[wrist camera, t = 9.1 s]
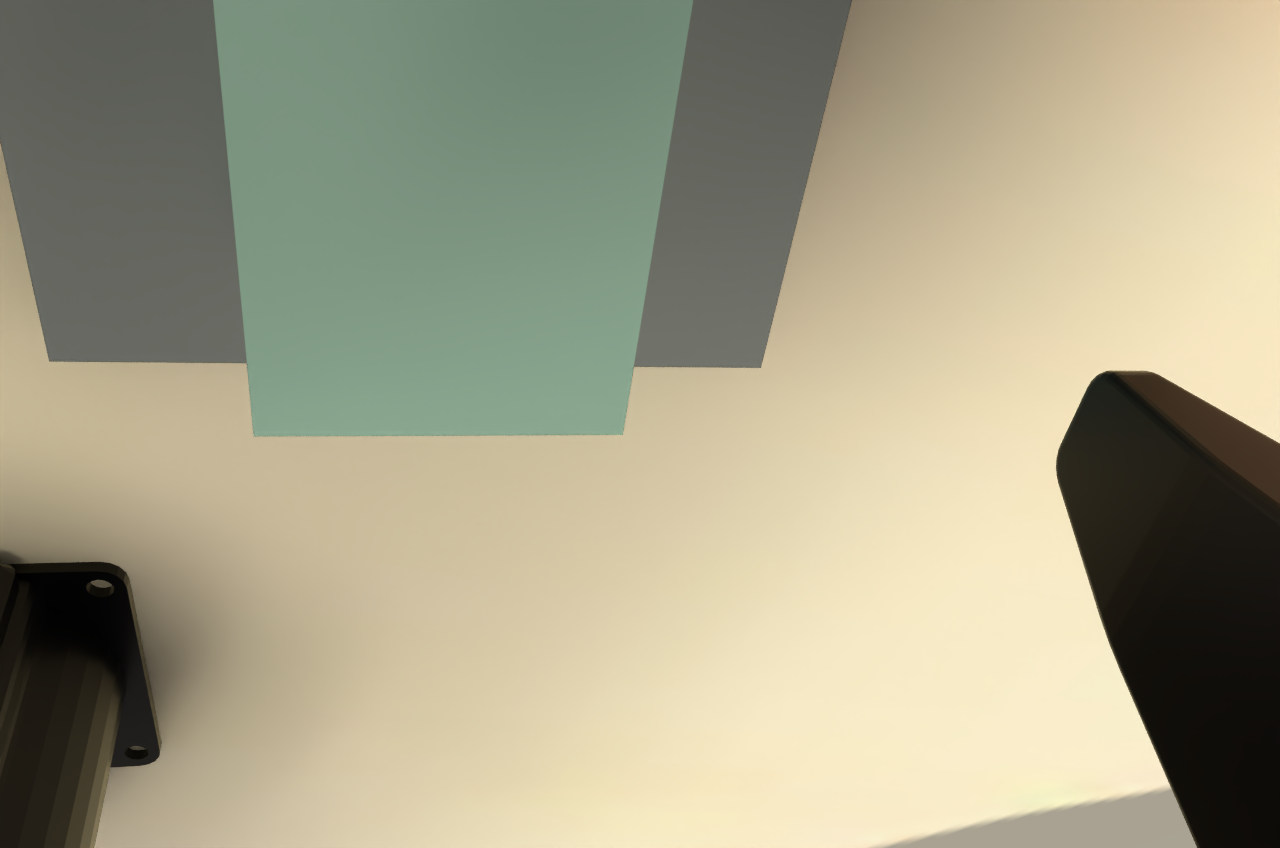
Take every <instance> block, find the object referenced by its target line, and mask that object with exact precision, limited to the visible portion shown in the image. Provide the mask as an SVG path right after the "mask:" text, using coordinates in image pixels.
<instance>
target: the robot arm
mask: <svg viewBox="0 0 1280 848" xmlns="http://www.w3.org/2000/svg"><path fill="white" fill-rule="evenodd" d="M1056 472H1057V479H1058V483H1059V487H1060V490H1061V493H1062V496H1063V499H1064V503H1065V506H1066V509H1067V512H1068V516H1069V519H1070V522H1071V525H1072V528H1073V532H1074V535H1075V538H1076V541H1077V544H1078V548H1079V551H1080V554H1081V557H1082V560H1083V564H1084V567H1085V570H1086V573H1087V576H1088V580H1089V583H1090V586H1091V589H1092V592H1093V596H1094V599H1095V602H1096V605H1097V609H1098V612H1099V615H1100V618H1101V621H1102V624H1103V627H1104V629H1105V632H1106V635H1107V638H1108V641H1109V644H1110V646H1111V649H1112V651H1113V654H1114V656H1115V659H1116V661H1117V664H1118V666H1119V669H1120V671H1121V673H1122V676H1123V678H1124V680H1125V683H1126V685H1127V687H1128V690H1129V692H1130V694H1131V696H1132V699H1133V701H1134V703H1135V706H1136V708H1137V710H1138V713H1139V715H1140V717H1141V719H1142V722H1143V724H1144V726H1145V729H1146V731H1147V733H1148V736H1149V738H1150V740H1151V742H1152V745H1153V747H1154V749H1155V752H1156V754H1157V756H1158V759H1159V761H1160V763H1161V765H1162V768H1163V770H1164V772H1165V775H1166V777H1167V779H1168V782H1169V784H1170V786H1171V788H1172V791H1173V793H1174V795H1175V798H1176V800H1177V802H1178V804H1179V807H1180V809H1181V811H1182V814H1183V816H1184V818H1185V820H1186V823H1187V825H1188V827H1189V830H1190V832H1191V834H1192V837H1193V839H1194V841H1195V844H1196V846H1197V848H1280V443H1278V442H1276V441H1274V440H1273V439H1271V438H1269V437H1267V436H1266V435H1264V434H1262V433H1260V432H1259V431H1257V430H1255V429H1253V428H1251V427H1250V426H1248V425H1246V424H1244V423H1243V422H1241V421H1239V420H1237V419H1236V418H1234V417H1232V416H1230V415H1229V414H1227V413H1225V412H1223V411H1221V410H1220V409H1218V408H1216V407H1214V406H1213V405H1211V404H1209V403H1207V402H1206V401H1204V400H1202V399H1200V398H1199V397H1197V396H1195V395H1193V394H1191V393H1190V392H1188V391H1186V390H1184V389H1183V388H1181V387H1179V386H1177V385H1176V384H1174V383H1172V382H1170V381H1168V380H1167V379H1165V378H1163V377H1161V376H1160V375H1158V374H1155V373H1152V372H1148V371H1106V372H1103V373H1100V374H1099V375H1097V376H1096V377H1095V378H1094V379H1093V380H1092V381H1091V383H1090V384H1089V386H1088V388H1087V390H1086V392H1085V394H1084V396H1083V398H1082V400H1081V403H1080V405H1079V407H1078V409H1077V411H1076V413H1075V415H1074V417H1073V419H1072V422H1071V424H1070V426H1069V428H1068V430H1067V432H1066V434H1065V436H1064V439H1063V441H1062V443H1061V445H1060V448H1059V450H1058V455H1057V461H1056ZM94 580H105V581H107V582H109V583H111V584H112V586H111V587H107V588H100V587H96V586H94V585H92V584H91V583H90V582H91V581H94ZM133 746H141V747H144V748H146V749H144V750H133V749H131V748H129V747H133ZM160 749H161V737H160V732H159V727H158V722H157V717H156V712H155V707H154V702H153V697H152V692H151V687H150V682H149V677H148V672H147V667H146V662H145V657H144V651H143V646H142V641H141V636H140V631H139V626H138V621H137V616H136V611H135V606H134V601H133V596H132V591H131V586H130V581H129V578H128V576H127V574H126V572H125V571H124V570H122V569H121V568H120V567H118V566H116V565H113V564H110V563H104V562H76V563H35V564H0V848H94V846H95V841H96V836H97V831H98V826H99V821H100V816H101V811H102V806H103V801H104V796H105V791H106V786H107V781H108V776H109V771H110V767H125V766H141V765H146V764H150V763H152V762H154V761H156V759H157V758H158V757H159V755H160Z"/></svg>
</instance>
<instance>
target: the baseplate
mask: <svg viewBox="0 0 1280 848" xmlns="http://www.w3.org/2000/svg"><path fill="white" fill-rule="evenodd" d="M851 1H852V0H693V5H692V11H691V17H690V23H689V30H688V36H687V42H686V48H685V54H684V60H683V67H682V73H681V79H680V85H679V91H678V97H677V104H676V110H675V116H674V122H673V128H672V134H671V141H670V147H669V153H668V159H667V165H666V171H665V178H664V184H663V190H662V196H661V202H660V208H659V214H658V221H657V227H656V233H655V239H654V245H653V251H652V258H651V264H650V270H649V276H648V282H647V288H646V295H645V301H644V307H643V313H642V319H641V325H640V332H639V338H638V344H637V350H636V356H635V362H634V367H731V368H761V365H762V361H763V357H764V353H765V349H766V345H767V341H768V337H769V333H770V329H771V325H772V321H773V317H774V313H775V309H776V305H777V300H778V296H779V292H780V288H781V284H782V280H783V276H784V272H785V268H786V264H787V260H788V256H789V252H790V248H791V244H792V240H793V236H794V232H795V228H796V224H797V220H798V216H799V212H800V208H801V203H802V199H803V195H804V191H805V187H806V183H807V179H808V175H809V171H810V167H811V163H812V159H813V155H814V151H815V147H816V143H817V139H818V135H819V131H820V127H821V123H822V119H823V115H824V111H825V106H826V102H827V98H828V94H829V90H830V86H831V82H832V78H833V74H834V70H835V66H836V62H837V58H838V54H839V50H840V46H841V42H842V38H843V34H844V30H845V26H846V22H847V18H848V14H849V9H850V5H851ZM0 142H1V146H2V151H3V155H4V160H5V164H6V169H7V173H8V178H9V182H10V187H11V191H12V196H13V200H14V205H15V209H16V214H17V218H18V223H19V227H20V232H21V236H22V241H23V245H24V250H25V254H26V259H27V263H28V268H29V272H30V277H31V281H32V286H33V290H34V295H35V299H36V304H37V308H38V313H39V317H40V322H41V326H42V331H43V335H44V340H45V344H46V349H47V353H48V358H49V361H63V362H174V363H247V359H246V348H245V337H244V326H243V316H242V305H241V294H240V284H239V273H238V262H237V252H236V241H235V230H234V219H233V209H232V198H231V187H230V177H229V166H228V155H227V145H226V134H225V123H224V112H223V102H222V91H221V80H220V70H219V59H218V48H217V38H216V27H215V16H214V5H213V0H0Z"/></svg>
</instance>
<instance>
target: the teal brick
mask: <svg viewBox="0 0 1280 848" xmlns="http://www.w3.org/2000/svg"><path fill="white" fill-rule="evenodd" d="M213 5H214V16H215V27H216V38H217V48H218V59H219V70H220V80H221V91H222V102H223V112H224V123H225V134H226V145H227V155H228V166H229V177H230V187H231V198H232V209H233V219H234V230H235V241H236V252H237V262H238V273H239V284H240V294H241V305H242V316H243V326H244V337H245V348H246V359H247V369H248V380H249V391H250V401H251V412H252V423H253V433H254V436H463V435H623V430H624V424H625V418H626V412H627V406H628V399H629V393H630V387H631V381H632V375H633V369H634V362H635V356H636V350H637V344H638V338H639V332H640V325H641V319H642V313H643V307H644V301H645V295H646V288H647V282H648V276H649V270H650V264H651V258H652V251H653V245H654V239H655V233H656V227H657V221H658V214H659V208H660V202H661V196H662V190H663V184H664V178H665V171H666V165H667V159H668V153H669V147H670V141H671V134H672V128H673V122H674V116H675V110H676V104H677V97H678V91H679V85H680V79H681V73H682V67H683V60H684V54H685V48H686V42H687V36H688V30H689V23H690V17H691V11H692V5H693V0H213Z"/></svg>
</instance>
